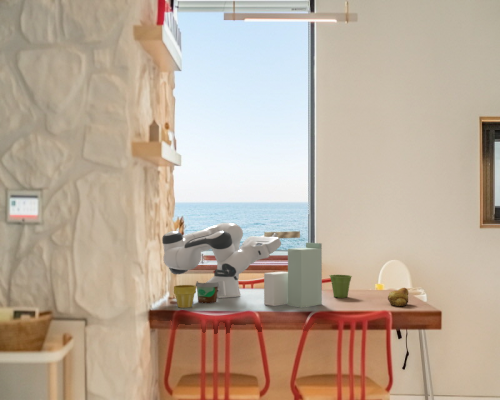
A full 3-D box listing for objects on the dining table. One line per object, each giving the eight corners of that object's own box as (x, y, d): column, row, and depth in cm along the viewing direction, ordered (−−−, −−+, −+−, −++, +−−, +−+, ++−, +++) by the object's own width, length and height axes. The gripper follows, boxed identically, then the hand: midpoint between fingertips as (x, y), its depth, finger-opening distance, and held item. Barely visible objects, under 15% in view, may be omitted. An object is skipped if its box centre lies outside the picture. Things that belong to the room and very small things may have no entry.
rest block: (274, 306, 244) (273, 274, 244) (264, 304, 249) (264, 273, 250) (292, 303, 252) (291, 272, 252) (282, 301, 257) (282, 271, 258)
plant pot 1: (175, 304, 248) (175, 284, 248) (197, 305, 247) (197, 284, 248) (171, 308, 237) (171, 287, 238) (194, 308, 237) (194, 287, 237)
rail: (268, 238, 231) (268, 232, 231) (264, 238, 234) (264, 232, 234) (300, 237, 244) (300, 231, 244) (295, 237, 246) (295, 231, 246)
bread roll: (408, 308, 240) (408, 290, 240) (387, 306, 243) (387, 289, 243) (408, 303, 252) (408, 287, 252) (388, 302, 255) (387, 286, 255)
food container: (191, 302, 253) (191, 282, 254) (196, 300, 259) (196, 281, 259) (213, 304, 249) (214, 283, 249) (219, 302, 255) (219, 282, 255)
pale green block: (301, 307, 240) (301, 244, 240) (288, 305, 246) (287, 243, 247) (321, 304, 249) (321, 243, 249) (308, 302, 255) (308, 242, 256)
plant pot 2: (356, 298, 268) (356, 276, 268) (336, 299, 264) (336, 277, 264) (344, 294, 279) (344, 274, 279) (325, 296, 275) (325, 274, 275)
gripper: (240, 255, 236) (260, 239, 244) (270, 258, 220) (290, 241, 228) (235, 243, 234) (255, 227, 242) (265, 245, 218) (285, 228, 226)
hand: (272, 234), depth 235 cm, fingers closed on rail, 3 cm apart
